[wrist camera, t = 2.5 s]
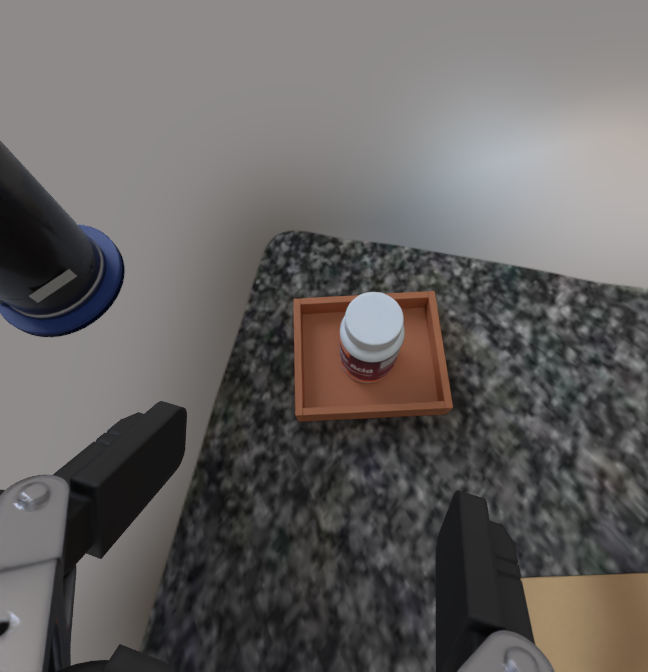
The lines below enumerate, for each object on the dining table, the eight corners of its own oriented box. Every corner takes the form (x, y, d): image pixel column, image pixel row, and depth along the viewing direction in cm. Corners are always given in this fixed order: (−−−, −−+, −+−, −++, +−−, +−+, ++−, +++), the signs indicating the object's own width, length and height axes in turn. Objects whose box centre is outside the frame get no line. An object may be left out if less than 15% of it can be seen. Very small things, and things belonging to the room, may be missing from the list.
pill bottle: (328, 360, 37) (324, 320, 29) (364, 322, 38) (370, 274, 31) (370, 396, 36) (378, 364, 28) (406, 356, 37) (423, 314, 29)
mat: (545, 759, 27) (548, 763, 27) (512, 577, 31) (514, 578, 30) (740, 753, 27) (746, 757, 26) (682, 570, 30) (687, 571, 30)
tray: (298, 421, 36) (295, 415, 33) (296, 310, 39) (293, 298, 37) (446, 414, 35) (453, 407, 33) (429, 303, 39) (434, 290, 37)
